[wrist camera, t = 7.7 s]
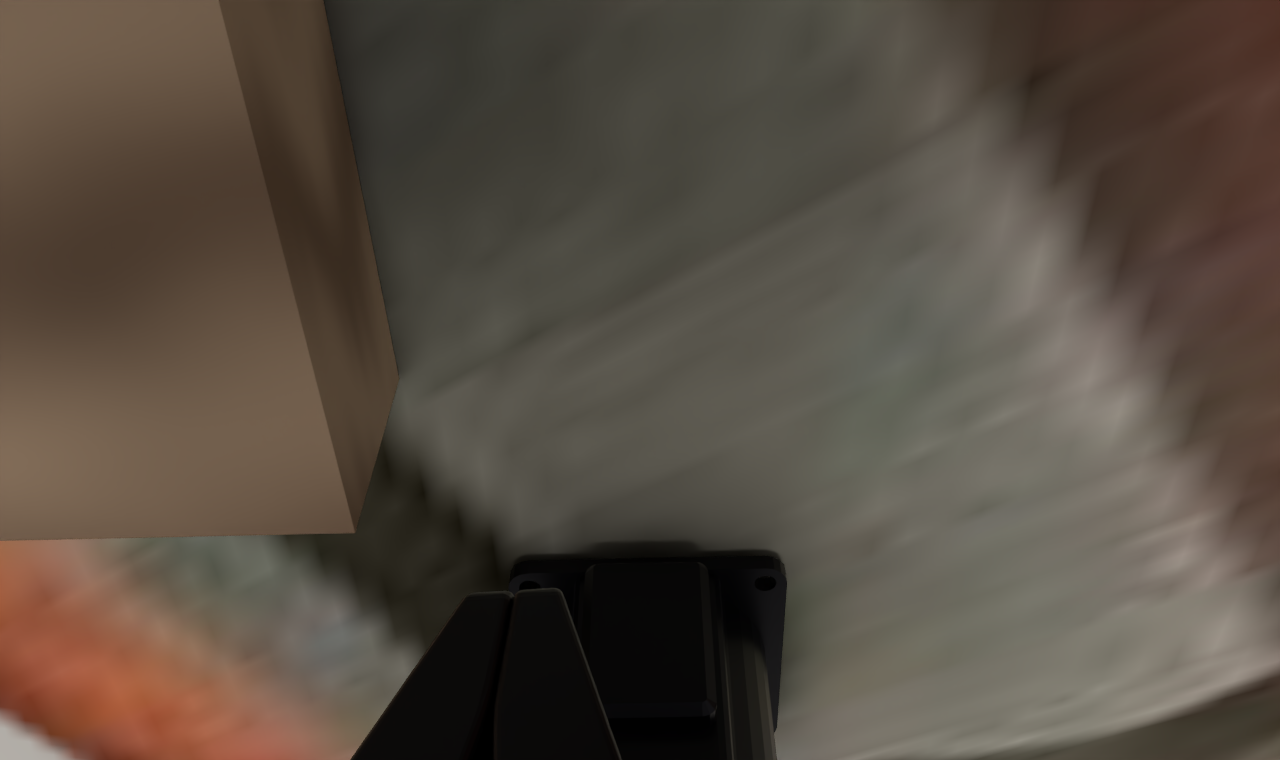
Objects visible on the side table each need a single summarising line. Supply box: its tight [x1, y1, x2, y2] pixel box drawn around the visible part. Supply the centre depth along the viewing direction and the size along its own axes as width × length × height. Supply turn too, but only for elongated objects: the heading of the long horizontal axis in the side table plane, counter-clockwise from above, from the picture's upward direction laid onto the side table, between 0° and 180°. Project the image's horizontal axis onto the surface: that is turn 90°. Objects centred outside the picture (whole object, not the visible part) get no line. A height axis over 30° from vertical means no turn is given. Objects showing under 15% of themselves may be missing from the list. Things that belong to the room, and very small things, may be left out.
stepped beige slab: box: [0, 0, 399, 541], centre depth 18 cm, size 11×9×4 cm
